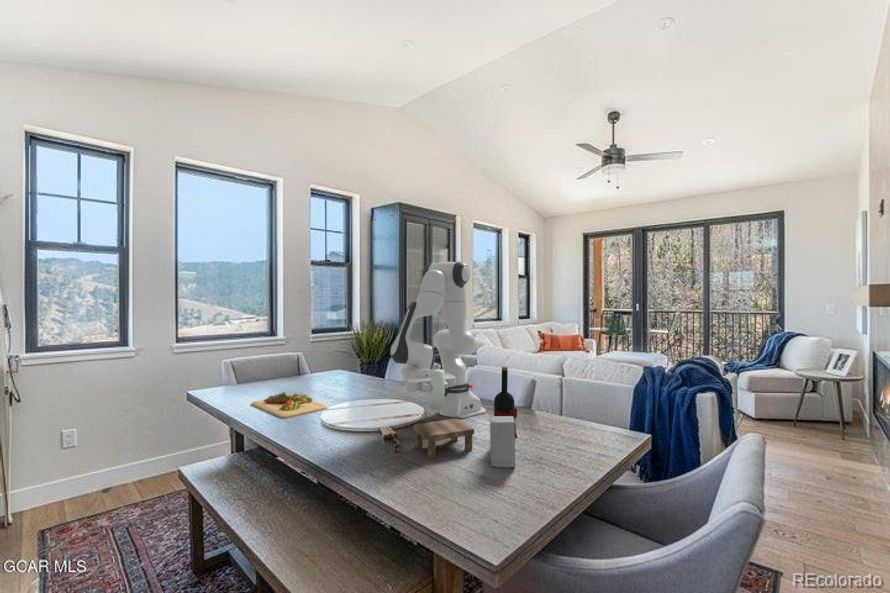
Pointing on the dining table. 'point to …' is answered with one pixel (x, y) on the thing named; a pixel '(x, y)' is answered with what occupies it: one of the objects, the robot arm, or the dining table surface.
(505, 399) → the wine bottle
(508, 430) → the skincare box
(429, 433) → the walnut stool
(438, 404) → the pale green cylinder
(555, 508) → the dining table surface
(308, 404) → the cutting board
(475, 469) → the dining table surface
